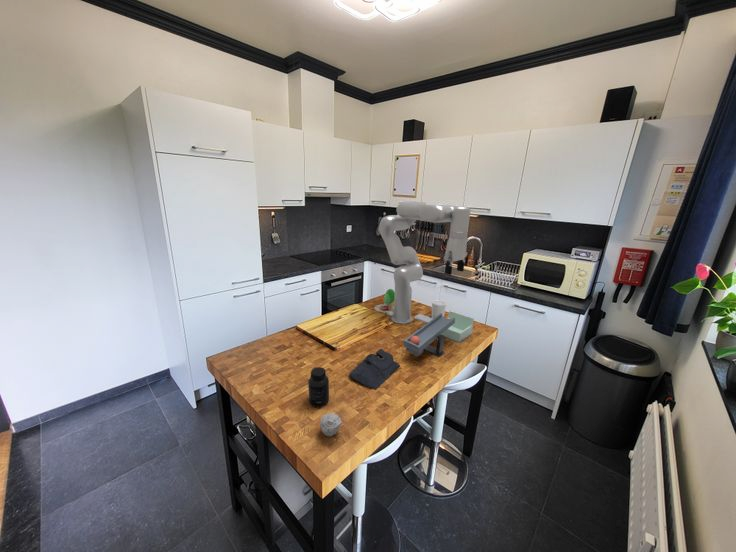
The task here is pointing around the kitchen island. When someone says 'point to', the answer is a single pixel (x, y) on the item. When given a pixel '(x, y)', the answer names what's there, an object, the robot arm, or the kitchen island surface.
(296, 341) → the kitchen island surface
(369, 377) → the folded navy shirt
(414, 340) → the ball
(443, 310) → the white cup
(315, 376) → the supplement bottle
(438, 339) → the lever stand
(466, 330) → the bin
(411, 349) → the lever
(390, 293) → the cactus trinket dish
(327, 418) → the gray yarn ball
